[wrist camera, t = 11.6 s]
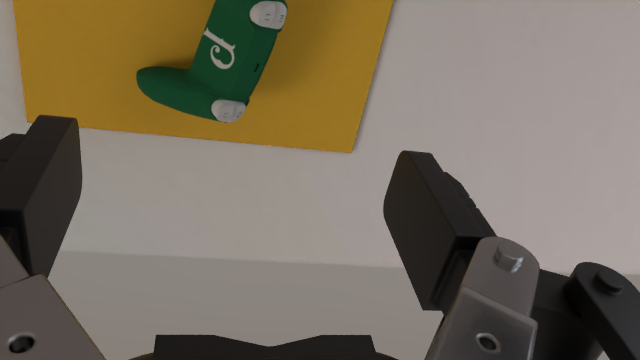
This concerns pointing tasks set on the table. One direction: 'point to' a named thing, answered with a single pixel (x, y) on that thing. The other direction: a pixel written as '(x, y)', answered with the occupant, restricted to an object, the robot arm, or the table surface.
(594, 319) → the robot arm
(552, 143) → the table surface
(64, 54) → the cloth
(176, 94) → the gaming controller
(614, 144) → the table surface
